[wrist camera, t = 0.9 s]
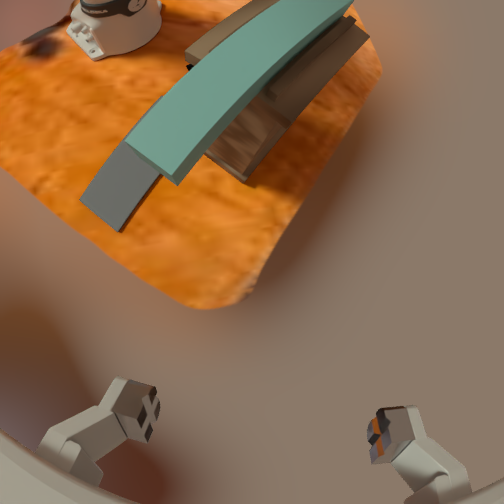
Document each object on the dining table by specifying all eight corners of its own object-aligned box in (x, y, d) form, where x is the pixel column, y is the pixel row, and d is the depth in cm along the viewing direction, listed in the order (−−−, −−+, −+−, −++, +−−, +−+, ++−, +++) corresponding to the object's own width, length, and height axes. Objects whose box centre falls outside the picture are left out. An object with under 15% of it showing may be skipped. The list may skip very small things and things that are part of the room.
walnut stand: (193, 147, 43) (184, 43, 16) (246, 89, 44) (288, -26, 17) (243, 183, 45) (296, 117, 18) (292, 123, 45) (375, 31, 18)
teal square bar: (137, 156, 17) (124, 140, 14) (311, -2, 18) (323, -25, 15) (177, 186, 18) (171, 175, 14) (341, 17, 19) (356, -3, 15)
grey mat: (80, 200, 41) (79, 199, 40) (162, 97, 42) (161, 95, 41) (118, 232, 42) (117, 232, 41) (202, 124, 43) (202, 122, 42)
